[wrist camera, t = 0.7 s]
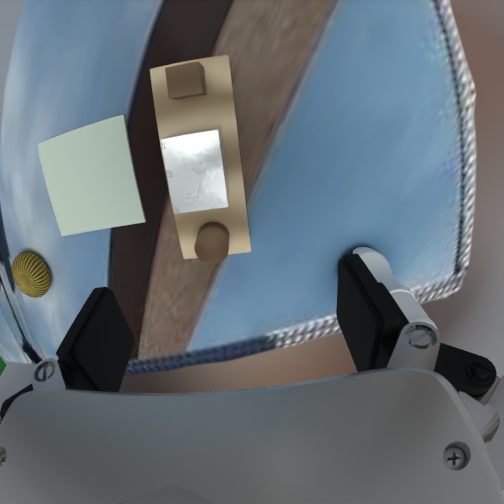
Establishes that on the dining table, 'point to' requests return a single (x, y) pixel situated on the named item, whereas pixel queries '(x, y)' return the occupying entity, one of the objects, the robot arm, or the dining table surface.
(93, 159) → the mat
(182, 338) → the dining table surface
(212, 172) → the grey block
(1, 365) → the hardback book
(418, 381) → the robot arm
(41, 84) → the dining table surface
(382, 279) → the water bottle
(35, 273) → the sculpture
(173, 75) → the hand plane
